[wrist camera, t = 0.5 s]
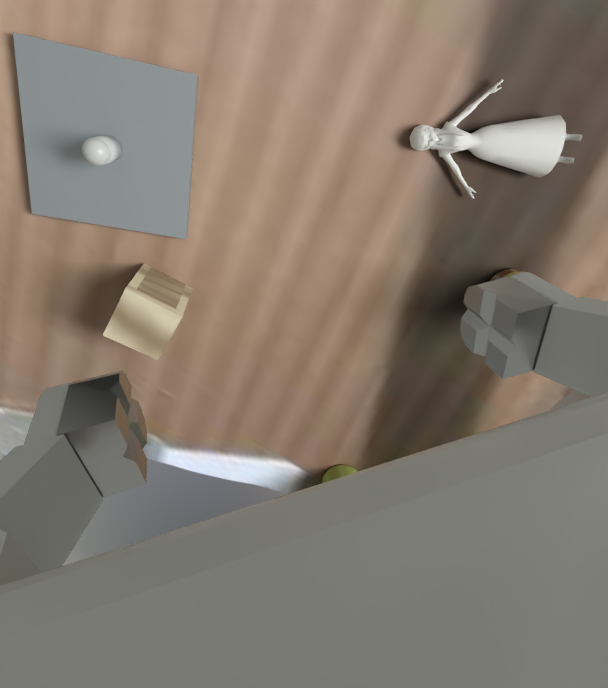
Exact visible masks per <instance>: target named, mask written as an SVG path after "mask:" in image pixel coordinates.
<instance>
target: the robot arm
mask: <svg viewBox="0 0 608 688" xmlns="http://www.w3.org/2000/svg"><path fill="white" fill-rule="evenodd" d="M464 304H465V305H466V307H467V308H468V309H467V311H466V312H465V314H464V315H463V317H462V318H461V326H460V331H461V335H462V339H463V341H464V343H465V344H466V346H467V347H468V348H469V349H470V350H471V351H472V352H473V353H476V354H479V355H482V356H485V364H487V365H488V366H489V367H490V368H491V369H492V370H493V371H494V372H496V373H497V374H498V375H499V376H500V377H501V378H502V379H504V378H508V377H512V376H515V375H519V374H523V373H527V372H530V371H534V372H535V373H537V374H539V375H542V376H544V377H547V378H549V379H551V380H554V381H556V382H558V383H561V384H563V385H566V386H568V387H570V388H573V389H575V390H578V391H580V392H582V393H585V394H587V395H589V396H592V398H588V399H586V400H582V401H579V402H576V403H573V404H569V405H566V406H563V407H560V408H557V409H554V410H550V411H547V412H544V413H541V414H538V415H535V416H532V417H528V418H525V419H522V420H519V421H516V422H513V423H509V424H506V425H503V426H500V427H497V428H494V429H490V430H487V431H484V432H481V433H478V434H475V435H471V436H468V437H465V438H462V439H459V440H456V441H453V442H450V443H446V444H443V445H440V446H437V447H434V448H431V449H428V450H424V451H421V452H418V453H415V454H412V455H409V456H406V457H403V458H399V459H396V460H393V461H390V462H387V463H384V464H381V465H378V466H374V467H371V468H368V469H365V470H362V471H359V472H356V473H353V474H349V475H346V476H343V477H340V478H337V479H334V480H331V481H328V482H324V483H321V484H318V485H315V486H312V487H309V488H306V489H302V490H299V491H296V492H293V493H290V494H287V495H284V496H281V497H278V498H274V499H271V500H268V501H265V502H262V503H259V504H255V505H253V506H249V507H246V508H243V509H240V510H237V511H234V512H230V513H228V514H224V515H221V516H218V517H215V518H212V519H208V520H205V521H202V522H199V523H196V524H193V525H190V526H186V527H184V528H181V529H177V530H174V531H171V532H168V533H165V534H161V535H158V536H155V537H152V538H149V539H146V540H143V541H140V542H136V543H133V544H130V545H127V546H124V547H121V548H118V549H115V550H111V551H109V552H105V553H102V554H99V555H96V556H93V557H89V558H86V559H83V560H80V561H77V562H74V563H71V564H67V565H64V566H62V565H63V564H64V562H65V560H66V559H67V557H68V556H69V554H70V553H71V551H72V550H73V548H74V546H75V545H76V543H77V541H78V540H79V538H80V537H81V535H82V534H83V532H84V530H85V529H86V527H87V526H88V524H89V522H90V521H91V519H92V518H93V516H94V515H95V513H96V511H97V510H98V508H99V507H100V505H101V503H102V502H103V498H104V497H107V496H110V495H114V494H116V493H119V492H123V491H126V490H129V489H132V488H135V487H138V486H141V485H145V484H146V478H147V477H146V475H147V458H146V456H145V454H144V452H143V448H144V446H145V445H146V444H147V431H146V424H145V419H144V416H143V413H142V410H141V407H140V405H139V403H138V401H136V400H134V399H132V398H131V384H130V382H129V380H128V378H127V376H126V374H125V373H124V372H123V371H119V372H115V373H110V374H106V375H101V376H97V377H92V378H88V379H83V380H79V381H74V382H72V383H70V382H69V383H65V384H61V385H57V386H53V387H49V388H46V389H45V390H43V391H42V393H41V395H40V398H39V401H38V404H37V407H36V410H35V413H34V416H33V419H32V422H31V425H30V428H29V431H28V434H27V437H26V440H25V442H24V445H21V446H17V447H15V448H14V449H13V450H11V451H10V452H9V453H8V454H7V455H6V456H5V457H4V458H3V459H1V460H0V688H608V302H607V301H601V300H596V299H591V298H585V297H581V298H576V297H574V296H572V295H570V294H568V293H566V292H565V291H563V290H561V289H559V288H557V287H555V286H554V285H552V284H550V283H548V282H546V281H544V280H543V279H541V278H539V277H537V276H535V275H533V274H532V273H529V272H521V273H517V274H514V275H510V276H507V277H504V278H500V279H497V280H493V281H489V282H485V283H482V284H478V285H474V286H470V287H468V289H467V291H466V293H465V297H464Z"/></svg>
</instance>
